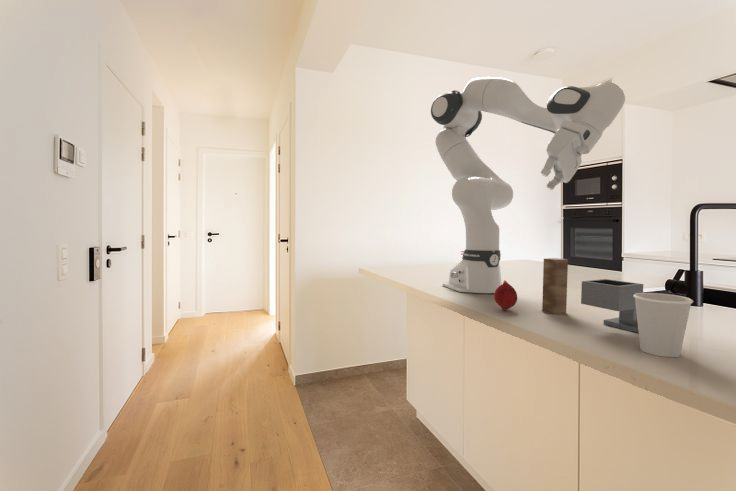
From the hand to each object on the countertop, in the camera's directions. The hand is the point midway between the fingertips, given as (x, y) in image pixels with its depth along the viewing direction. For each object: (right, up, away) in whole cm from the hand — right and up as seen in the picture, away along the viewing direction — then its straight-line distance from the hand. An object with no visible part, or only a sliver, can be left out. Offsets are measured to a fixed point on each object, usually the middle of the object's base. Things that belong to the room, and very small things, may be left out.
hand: (546, 181), depth 103 cm
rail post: (-1, -35, -7) cm, 36 cm away
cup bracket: (+5, -36, -22) cm, 43 cm away
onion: (-13, -35, -4) cm, 38 cm away
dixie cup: (+3, -37, -37) cm, 52 cm away
